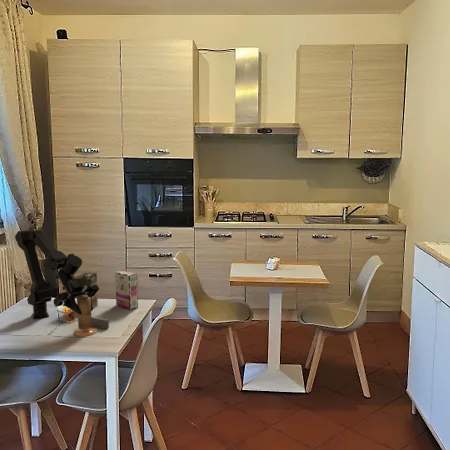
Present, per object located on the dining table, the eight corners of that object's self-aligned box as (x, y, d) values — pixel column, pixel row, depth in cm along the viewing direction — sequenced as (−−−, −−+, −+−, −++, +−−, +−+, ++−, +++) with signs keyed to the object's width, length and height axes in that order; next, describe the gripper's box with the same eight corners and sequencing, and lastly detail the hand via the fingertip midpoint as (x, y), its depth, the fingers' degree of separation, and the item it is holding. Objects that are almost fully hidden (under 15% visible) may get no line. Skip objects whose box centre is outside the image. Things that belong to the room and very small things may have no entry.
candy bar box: (138, 307, 225) (137, 273, 223) (130, 310, 222) (129, 275, 219) (124, 302, 233) (123, 269, 230) (115, 305, 229) (114, 271, 227)
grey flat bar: (86, 324, 203) (86, 316, 202) (88, 324, 204) (87, 316, 203) (107, 328, 198) (107, 320, 198) (109, 328, 199) (108, 319, 199)
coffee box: (90, 311, 220) (88, 277, 217) (77, 311, 221) (75, 277, 218) (98, 305, 229) (96, 272, 226) (85, 305, 230) (84, 272, 227)
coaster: (72, 330, 196) (71, 329, 196) (94, 326, 201) (94, 325, 200) (76, 337, 189) (76, 336, 188) (99, 333, 193) (99, 332, 193)
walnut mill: (80, 325, 197) (78, 294, 195) (93, 324, 197) (91, 294, 195) (76, 329, 192) (75, 298, 190) (90, 329, 192) (88, 298, 190)
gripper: (56, 274, 186) (74, 307, 181) (95, 265, 201) (113, 295, 196) (45, 290, 192) (63, 322, 187) (84, 280, 206) (102, 310, 202)
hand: (86, 312), depth 193 cm, fingers closed on walnut mill, 5 cm apart
